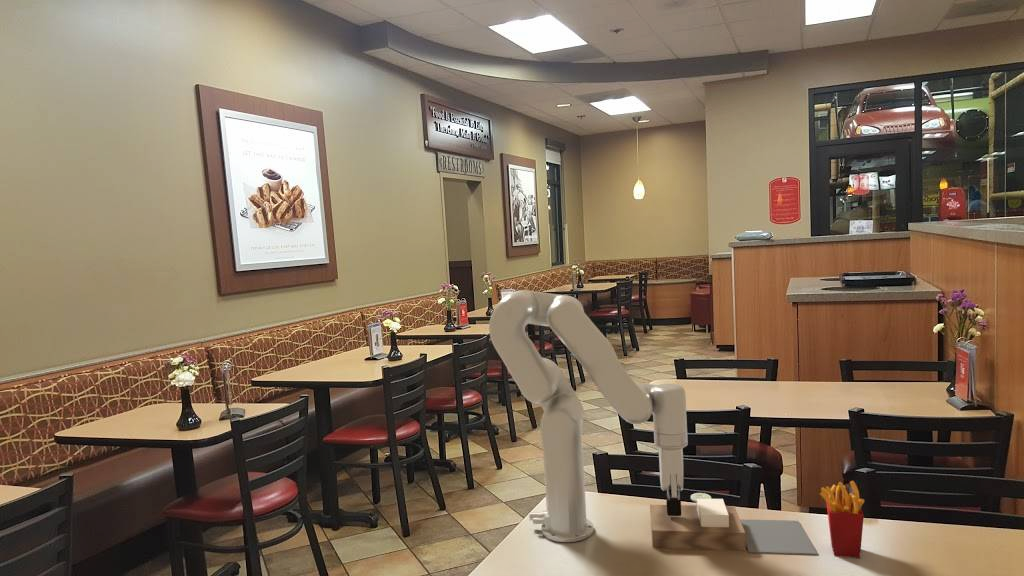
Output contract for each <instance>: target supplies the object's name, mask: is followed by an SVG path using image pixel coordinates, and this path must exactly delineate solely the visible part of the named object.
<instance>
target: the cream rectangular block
mask: <svg viewBox="0 0 1024 576" xmlns="http://www.w3.org/2000/svg"><path fill="white" fill-rule="evenodd" d="M696 505H697V511H698V515H699V519H700V523H701V527H729V515H728V512H727V509H726V507H725V506H726V504H725V501H724V499H723V498H711V499H698V498H697V502H696Z"/></svg>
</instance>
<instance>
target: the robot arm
mask: <svg viewBox="0 0 1024 576" xmlns="http://www.w3.org/2000/svg"><path fill="white" fill-rule="evenodd" d="M488 324H489V325H488V329H489V330H488V331H489V336H490V339H491V344H492V345H493V347H494V349H495V351H496V352H497V354H498V355H499V357H500V358H501V360H502V362H503V364H504V365H505V367H506V369H507V371H508V373H510V376H511V377H512V379H513V381H514V382H515V384H516V385H517V387H518V389H519V390H520V393H521V394H522V396H523V397H524V398H525V400H527V401H529V402H530V403H532V404H535V405H539V406H540V407H541V409H542V410H543V413H542V416H541V419H540V427H539V428H540V431H539V432H540V438H541V446H542V454H543V455H542V457H543V471H544V484H545V502H546V503H545V505H546V509H545V511H544V510H543V511H542V512H537V511H530V512H529V521H532V524H533V525H541V528H540V529H541V534H542V536H543V537H545V538H546V539H548V540H550V541H554V542H557V543H574V542H579V541H580V542H581V541H583V540H585V539H588V538H590V536H592V534H593V533H594V523H593V522H592V521H591V520H590V519H588V518H587V504H586V488H585V487H586V485H585V470H584V469H585V467H584V454H583V453H584V452H583V442H582V439H583V438H582V426H583V420H584V416H585V415H584V414H585V411H584V407H583V404H582V402H581V399H580V398H579V397H578V395H577V393H576V391H575V390H574V389H573V387H572V385H571V384H570V382H569V380H568V379H567V377H566V375H565V374H564V373H563V371H562V370H561V368H560V366H558V365H557V364H556V363H555V361H553V360H551V359H549V358H546V357H542V355H541V354H540V353H539V351H538V349H537V348H536V346H535V344H534V343H533V341H532V340H531V338H529V336H528V335H527V333H526V326H527V325H534V326H543V327H549V328H550V329H551V330H552V332H553V333H554V334H555V335H556V337H558V339H559V340H560V341H561V342H562V343H563V345H564V346H565V347H566V348H567V350H568V351H570V353H571V354H572V356H574V358H575V359H576V360H577V361H578V362H579V364H580V365H581V366H582V368H583V369H584V371H585V373H586V374H587V376H588V377H589V378H590V380H592V382H593V384H594V385H595V387H596V388H597V389H598V390H599V392H600V393H601V395H602V396H603V397H604V399H605V400H606V401H607V402H608V404H609V405H610V406H611V407H612V408H613V409H614V410H615V412H616V413H617V414H618V415H619V416H620V417H621V419H623V420H625V422H627V423H629V424H632V425H642V424H644V423H645V422H647V421H648V420H649V419H650V418H651V416H653V417H652V418H653V419H652V421H653V422H652V423H653V440H654V441H653V442H654V446H656V447H657V448H658V461H659V463H658V464H659V465H658V468H659V481H660V489H661V490H662V491H663V492H665V491H666V497H665V499H666V505H667V515H668V516H681V505H682V499H681V493H680V492H681V491H683V490H684V452H683V449H684V448H686V447H687V446H688V443H689V442H688V441H689V440H688V423H687V401H686V400H687V397H686V391H685V388H684V387H683V386H682V385H679V384H676V383H662V384H653V383H652V384H651V383H642V382H635V381H634V379H632V377H631V376H630V374H628V372H627V371H626V370H625V368H624V367H623V365H622V363H621V362H620V360H619V358H618V356H617V353H616V351H615V349H614V346H612V345H613V344H611V342H610V341H609V340H608V338H607V337H605V335H604V334H603V333H602V332H601V331H600V329H599V328H598V327H597V326H596V325H595V323H594V322H593V321H592V320H591V318H590V317H589V316H588V315H587V313H585V309H584V306H583V304H582V303H581V301H579V299H578V298H576V297H573V296H571V295H566V294H565V295H564V294H556V293H551V292H550V293H548V292H542V291H534V290H527V289H522V290H521V289H520V290H515V291H513V292H511V293H508V294H507V295H505V296H504V297H502V298H501V299H500V301H498V303H497V304H496V305H495V307H494V309H493V311H492V312H491V315H490V319H489V323H488Z"/></svg>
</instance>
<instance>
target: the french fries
mask: <svg viewBox="0 0 1024 576" xmlns="http://www.w3.org/2000/svg"><path fill="white" fill-rule="evenodd" d="M849 483H850V486H851V488H852V491H853V493H854V494H853V493H851V492H848V491H847V488H846V485H844V483H842V482H840V481H839V482H838V484H837V485H836V484H833V485H832V486H831V487H830V486H825V488H824V486H822V487H821V489H820V491H821V492H819V495H820V496H821V497H822V499H823V500H824V501H825V503H826V510H827V517H828V518H827V519H828V525H829V527H828V528H829V537H830V545H831V548H832V553H833V555H834V557H843V558H852V559H861V554H862V553H861V550H862V539H863V529H864V518H865V517H864V512H863V510H862V506H863V504H865V499H863V498H860V491H859V488H858V487H857V484H856V483H855V481H854V480H851V481H849ZM834 493H835V495H834ZM840 493H841V500H840Z"/></svg>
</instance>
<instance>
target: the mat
mask: <svg viewBox="0 0 1024 576" xmlns="http://www.w3.org/2000/svg"><path fill="white" fill-rule="evenodd" d="M740 521H741V524H742V526H743V529H744V531H745V544H746V549H747V552H748V553H749V554H774V555H776V554H777V555H804V556H805V555H807V556H808V555H809V556H811V555H812V556H818V555H819V554H818V551H817V550H816V549H815V547H814V545H813V543H812V542H811V540H810V538H809V537H808V535H807V533H806V531H805V530H804V528H803V527H802V524H801V523H800V521H799V520H781V519H778V520H777V519H743V518H742V519H741V518H740Z"/></svg>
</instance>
